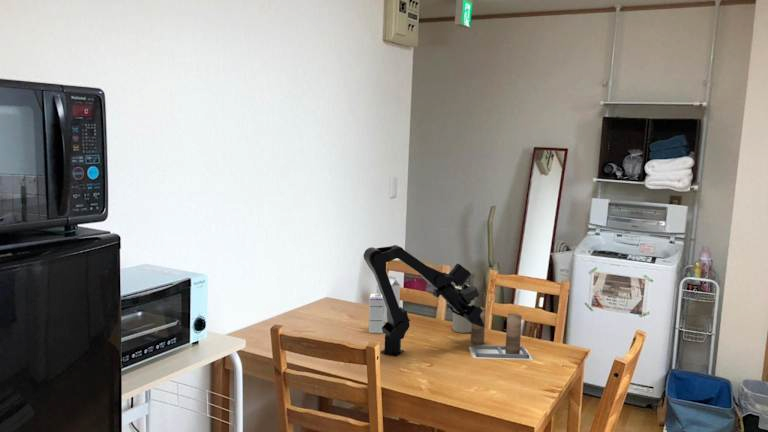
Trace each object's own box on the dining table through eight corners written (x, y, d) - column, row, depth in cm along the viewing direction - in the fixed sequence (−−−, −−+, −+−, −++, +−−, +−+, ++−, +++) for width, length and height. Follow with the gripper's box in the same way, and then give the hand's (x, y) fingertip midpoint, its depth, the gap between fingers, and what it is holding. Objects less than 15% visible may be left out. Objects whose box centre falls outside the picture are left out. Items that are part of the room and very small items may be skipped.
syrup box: (383, 333, 249) (384, 297, 247) (368, 332, 249) (369, 296, 247) (383, 329, 255) (384, 293, 253) (369, 328, 255) (370, 293, 253)
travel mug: (449, 331, 255) (451, 287, 253) (456, 326, 262) (458, 283, 260) (468, 334, 251) (470, 290, 249) (475, 329, 258) (477, 286, 256)
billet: (480, 348, 235) (482, 311, 233) (468, 345, 238) (470, 309, 236) (485, 344, 239) (487, 308, 238) (473, 342, 242) (475, 306, 240)
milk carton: (389, 323, 263) (390, 278, 261) (375, 320, 267) (376, 275, 265) (399, 320, 268) (400, 275, 266) (385, 316, 273) (387, 273, 270)
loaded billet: (517, 356, 223) (519, 318, 222) (503, 354, 226) (505, 315, 224) (521, 353, 228) (523, 314, 226) (508, 350, 230) (510, 312, 229)
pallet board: (472, 360, 221) (473, 354, 221) (468, 349, 233) (468, 343, 233) (533, 362, 221) (533, 356, 221) (525, 351, 233) (525, 345, 233)
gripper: (478, 285, 225) (504, 313, 230) (455, 274, 242) (479, 300, 247) (457, 308, 223) (484, 336, 228) (435, 295, 240) (460, 321, 246)
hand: (477, 322), depth 237 cm, fingers open, 9 cm apart
